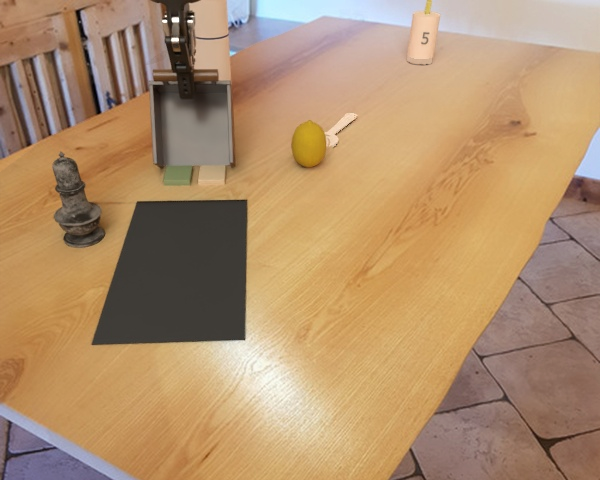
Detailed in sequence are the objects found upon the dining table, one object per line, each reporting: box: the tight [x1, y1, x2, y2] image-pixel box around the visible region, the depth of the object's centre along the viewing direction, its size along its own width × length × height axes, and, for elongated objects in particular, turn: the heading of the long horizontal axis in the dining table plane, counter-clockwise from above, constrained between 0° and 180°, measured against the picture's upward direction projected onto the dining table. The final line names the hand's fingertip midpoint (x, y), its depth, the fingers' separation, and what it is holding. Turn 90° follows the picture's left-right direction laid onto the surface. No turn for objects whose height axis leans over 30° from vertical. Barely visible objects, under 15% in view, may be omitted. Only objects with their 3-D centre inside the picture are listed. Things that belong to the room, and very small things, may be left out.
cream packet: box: [197, 165, 227, 186], centre depth 85 cm, size 5×4×1 cm
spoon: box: [324, 112, 358, 149], centre depth 100 cm, size 5×18×1 cm, turn 152°
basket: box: [148, 68, 236, 168], centre depth 82 cm, size 12×12×11 cm
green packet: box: [162, 165, 194, 187], centre depth 84 cm, size 5×4×1 cm
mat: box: [91, 199, 248, 346], centre depth 73 cm, size 40×16×1 cm, turn 4°
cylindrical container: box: [189, 0, 233, 85], centre depth 103 cm, size 7×7×25 cm
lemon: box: [290, 119, 327, 168], centre depth 86 cm, size 6×6×8 cm
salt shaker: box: [51, 151, 106, 248], centre depth 69 cm, size 6×6×12 cm
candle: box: [406, 0, 441, 59], centre depth 129 cm, size 6×6×15 cm
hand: (188, 95), depth 79 cm, fingers closed on basket
